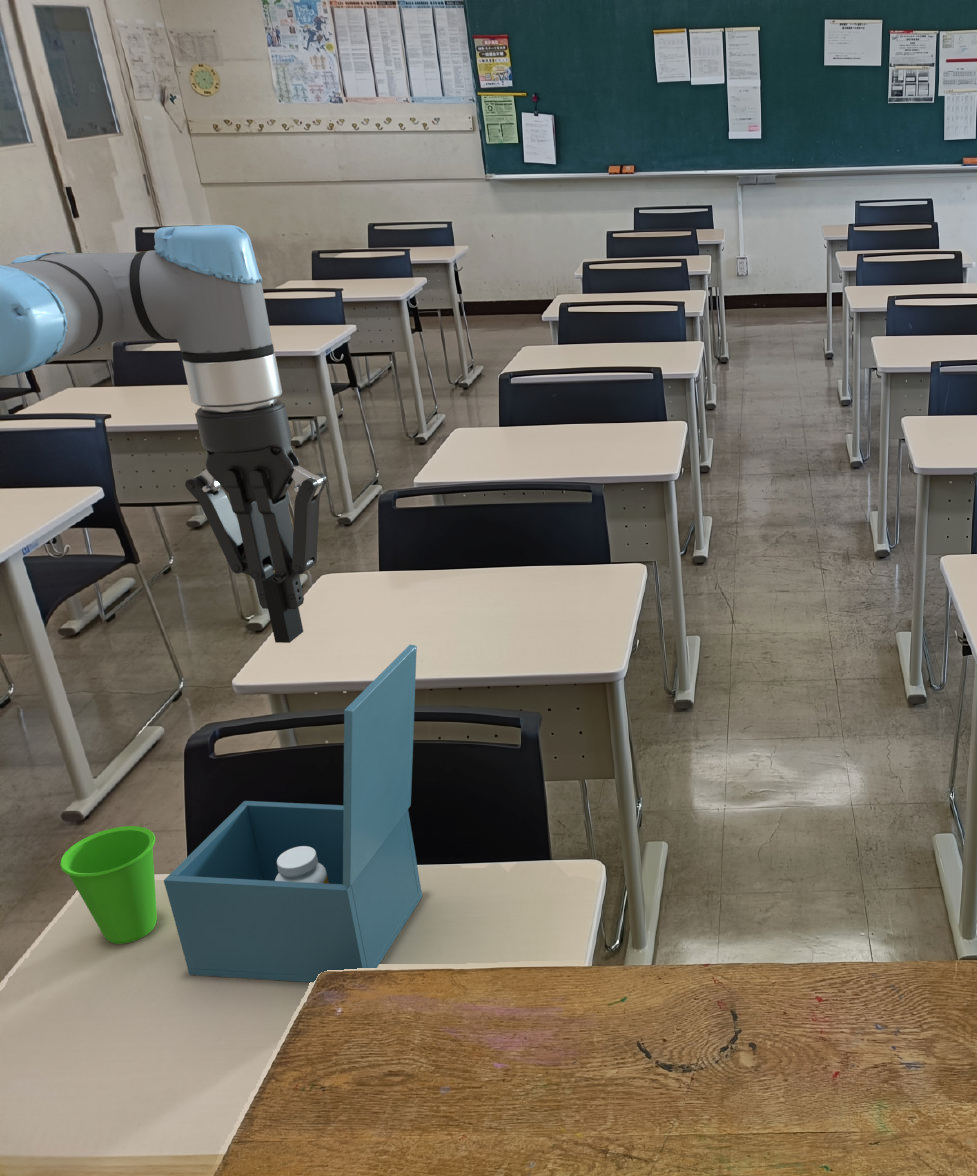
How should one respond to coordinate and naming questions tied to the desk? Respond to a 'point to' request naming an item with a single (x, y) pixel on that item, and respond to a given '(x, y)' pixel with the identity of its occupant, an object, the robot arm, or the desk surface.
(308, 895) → the chest
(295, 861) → the supplement bottle
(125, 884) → the cup
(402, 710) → the lid
